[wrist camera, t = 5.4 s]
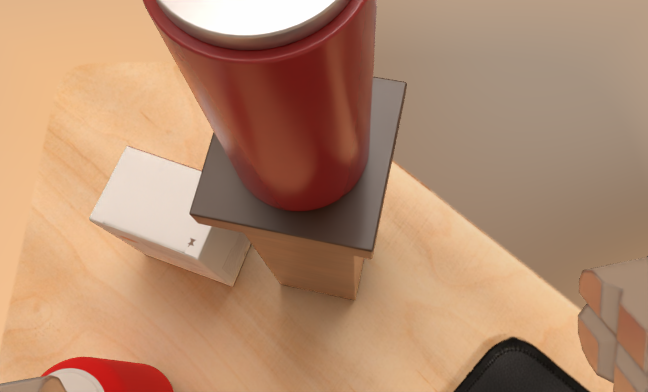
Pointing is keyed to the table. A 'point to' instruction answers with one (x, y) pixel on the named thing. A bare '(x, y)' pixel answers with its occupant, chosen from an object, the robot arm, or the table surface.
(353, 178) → the soda can
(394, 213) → the table surface
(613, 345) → the robot arm
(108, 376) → the beverage can
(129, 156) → the small box
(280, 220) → the walnut stand
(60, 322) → the table surface
